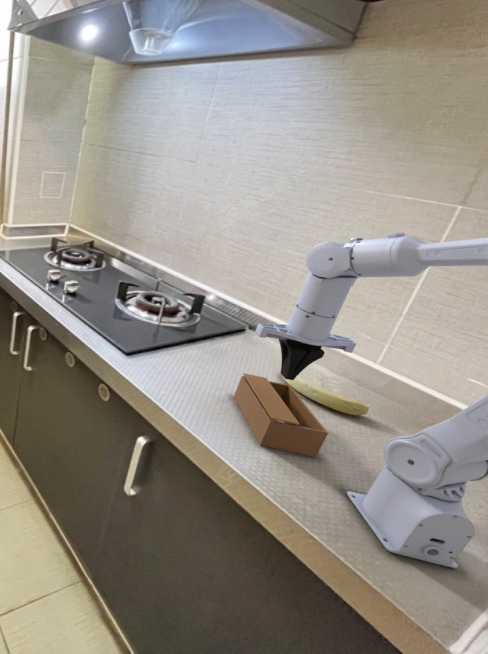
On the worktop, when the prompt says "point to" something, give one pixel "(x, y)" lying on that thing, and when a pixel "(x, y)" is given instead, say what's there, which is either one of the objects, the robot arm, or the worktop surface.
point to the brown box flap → (270, 399)
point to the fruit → (327, 397)
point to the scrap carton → (281, 434)
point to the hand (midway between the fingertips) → (286, 376)
